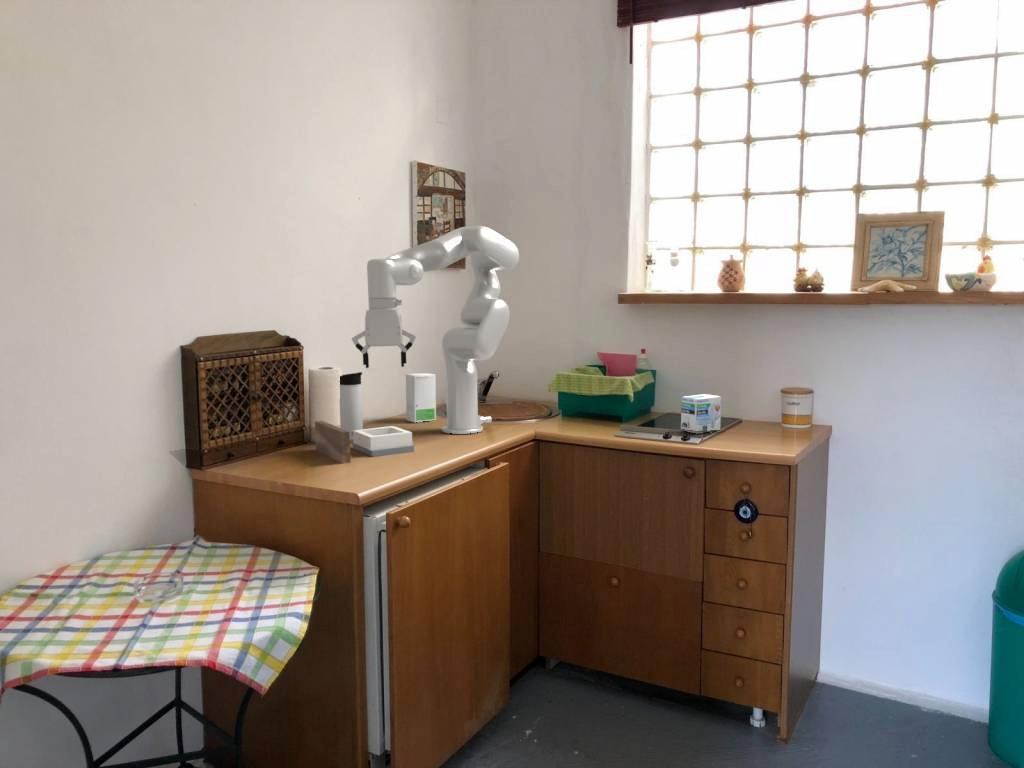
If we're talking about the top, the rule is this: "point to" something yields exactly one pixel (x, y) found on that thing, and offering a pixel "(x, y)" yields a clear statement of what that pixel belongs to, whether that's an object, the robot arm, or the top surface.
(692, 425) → the light bulb box
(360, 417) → the travel mug
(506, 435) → the top surface
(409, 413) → the skincare box
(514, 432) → the top surface
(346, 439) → the wall
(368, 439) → the socket block
